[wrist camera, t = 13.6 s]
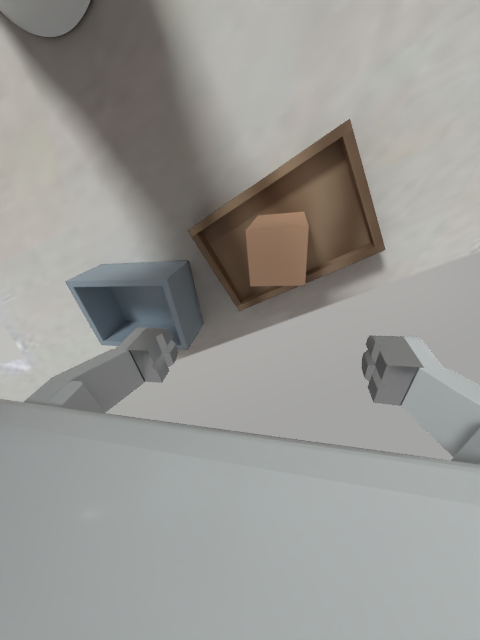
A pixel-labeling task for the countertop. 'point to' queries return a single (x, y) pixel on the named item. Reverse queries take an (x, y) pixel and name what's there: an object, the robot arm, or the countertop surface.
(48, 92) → the countertop surface
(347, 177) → the tray
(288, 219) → the block
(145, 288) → the blue-grey storage bin
